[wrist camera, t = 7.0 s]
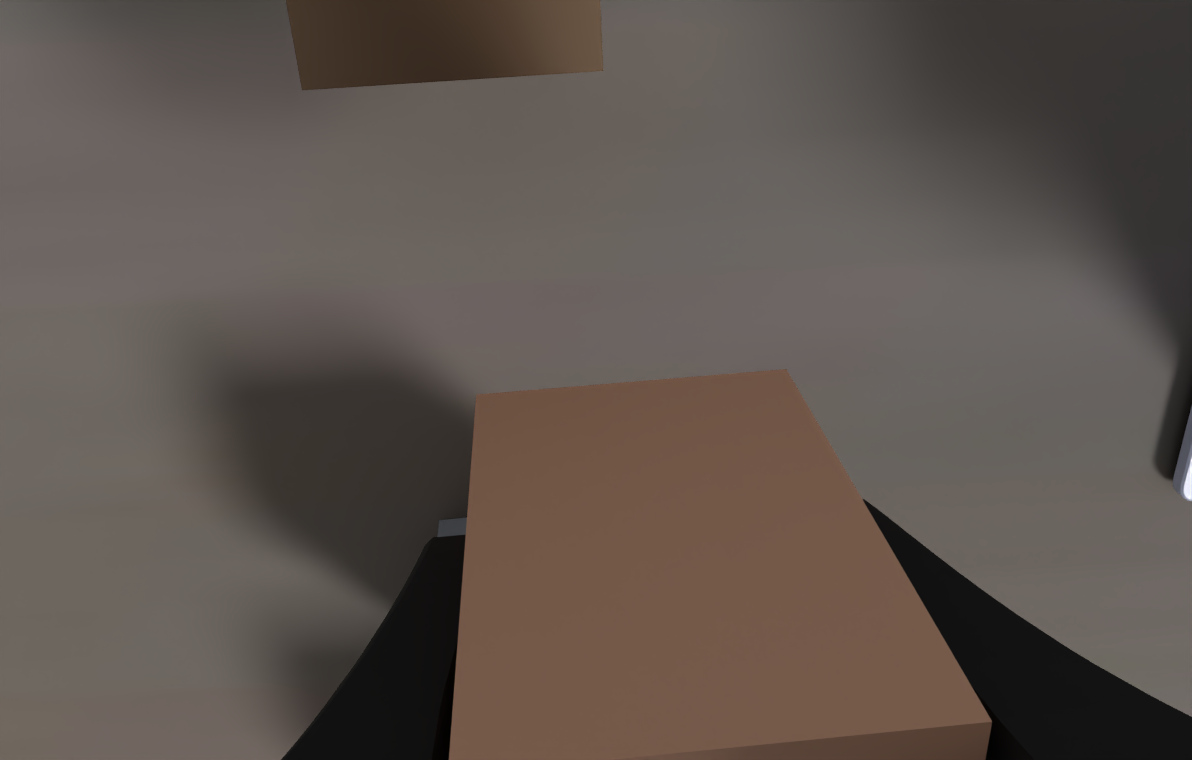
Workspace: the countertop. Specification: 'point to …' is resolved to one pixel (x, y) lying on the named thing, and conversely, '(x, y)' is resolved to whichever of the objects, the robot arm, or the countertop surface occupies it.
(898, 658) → the terracotta block
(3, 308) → the countertop surface
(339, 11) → the walnut block
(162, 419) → the countertop surface
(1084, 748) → the robot arm
